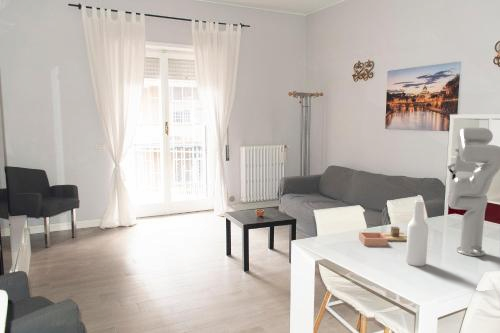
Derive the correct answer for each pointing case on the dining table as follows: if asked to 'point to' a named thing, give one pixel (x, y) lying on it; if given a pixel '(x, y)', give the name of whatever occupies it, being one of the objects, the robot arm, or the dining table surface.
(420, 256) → the alcohol
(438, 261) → the dining table surface
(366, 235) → the dish
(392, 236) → the lid
